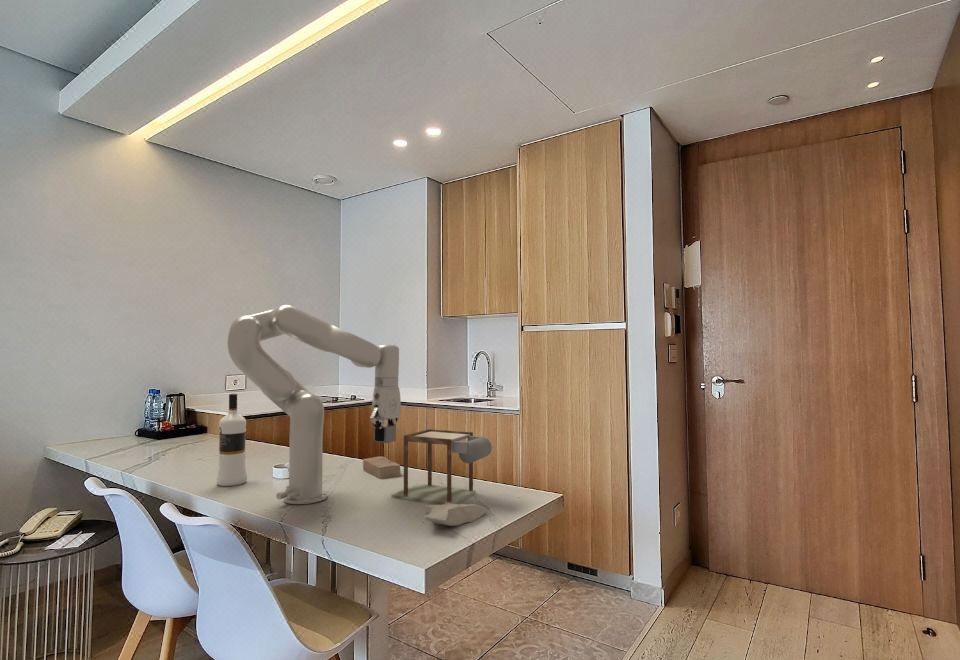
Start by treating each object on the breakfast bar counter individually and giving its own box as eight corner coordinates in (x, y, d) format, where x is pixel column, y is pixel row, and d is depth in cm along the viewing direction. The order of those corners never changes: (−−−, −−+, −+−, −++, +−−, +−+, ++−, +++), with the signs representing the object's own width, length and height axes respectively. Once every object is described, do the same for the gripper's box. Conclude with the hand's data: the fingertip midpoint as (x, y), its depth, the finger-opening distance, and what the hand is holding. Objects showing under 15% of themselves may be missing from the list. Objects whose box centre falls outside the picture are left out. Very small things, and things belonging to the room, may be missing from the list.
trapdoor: (493, 457, 160) (493, 435, 160) (475, 465, 149) (475, 441, 150) (430, 451, 170) (430, 430, 170) (409, 458, 159) (409, 436, 159)
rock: (398, 527, 134) (442, 533, 126) (398, 508, 135) (442, 513, 126) (452, 513, 151) (494, 517, 142) (452, 496, 152) (494, 499, 143)
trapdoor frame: (475, 493, 164) (475, 432, 165) (451, 506, 151) (451, 439, 151) (418, 485, 173) (418, 428, 174) (391, 497, 160) (391, 434, 161)
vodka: (248, 484, 175) (249, 394, 176) (216, 488, 171) (218, 395, 172) (245, 478, 184) (247, 392, 185) (216, 482, 179) (217, 393, 180)
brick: (401, 476, 187) (401, 463, 187) (379, 479, 183) (379, 466, 183) (383, 468, 201) (383, 455, 201) (361, 471, 196) (361, 458, 197)
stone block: (386, 443, 167) (386, 427, 167) (373, 441, 169) (374, 426, 169) (395, 441, 171) (396, 425, 171) (383, 439, 173) (383, 424, 174)
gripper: (379, 384, 162) (377, 444, 161) (411, 382, 177) (409, 437, 176) (360, 383, 165) (358, 442, 164) (392, 381, 180) (391, 435, 179)
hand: (384, 439), depth 170 cm, fingers closed on stone block, 5 cm apart
